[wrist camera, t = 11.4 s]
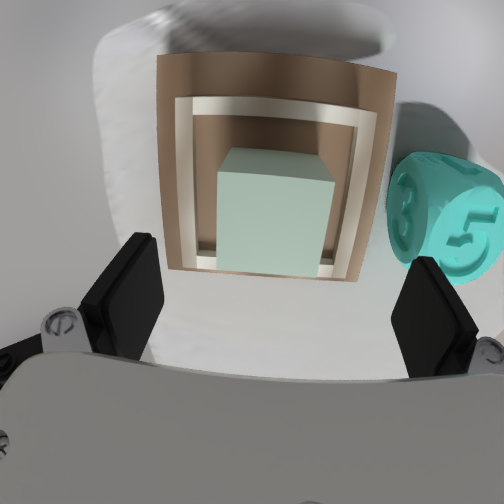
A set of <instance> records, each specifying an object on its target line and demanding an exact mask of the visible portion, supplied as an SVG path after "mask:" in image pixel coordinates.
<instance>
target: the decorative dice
mask: <svg viewBox="0 0 504 504" xmlns="http://www.w3.org/2000/svg"><path fill="white" fill-rule="evenodd" d="M387 226H388V234H389V239H390V243H391V246H392V249H393V252H394V254H395V256H396V257H397V259H398V260H399V261H400V262H401V263H402V264H403V266H405V267H406V268H407V269H408V270H409V268H410V265H411V262H412V261H413V259H416V258H417V257H418V256H429V257H433V258H434V259H435V261H436V262H437V264H438V265H439V267H440V268H441V270H442V271H443V273H444V274H445V276H446V277H447V279H448V280H449V282H450V283H451V285H459V284H463V283H467V282H470V281H472V280H474V279H476V278H478V277H479V276H481V275H482V274H483V273H485V272H486V271H487V270H488V269H489V268H490V267H491V266H492V265H493V264H494V263H495V261H496V260H497V259H498V257H499V256H500V254H501V252H502V250H503V248H504V185H503V183H502V181H501V179H500V178H499V177H498V176H497V175H496V174H494V173H493V172H491V171H490V170H488V169H486V168H484V167H482V166H480V165H477V164H475V163H472V162H470V161H467V160H464V159H461V158H457V157H454V156H450V155H445V154H440V153H434V152H422V151H420V152H413V153H411V154H410V155H408V156H407V157H406V158H405V159H403V160H402V161H401V162H400V164H399V165H398V166H397V167H396V169H395V171H394V173H393V175H392V178H391V181H390V185H389V190H388V198H387Z"/></svg>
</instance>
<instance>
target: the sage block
mask: <svg viewBox="0 0 504 504" xmlns="http://www.w3.org/2000/svg"><path fill="white" fill-rule="evenodd" d="M334 187H335V181H334V179H333V178H332V176H331V174H330V173H329V171H328V170H327V168H326V166H325V165H324V163H323V161H322V160H321V158H320V157H319V155H313V154H305V153H296V152H286V151H276V150H264V149H251V148H236V147H232V148H231V149H230V151H229V153H228V154H227V156H226V158H225V160H224V161H223V163H222V165H221V166H220V168H219V170H218V175H217V237H216V270H227V271H238V272H250V273H262V274H274V275H286V276H299V277H312V278H317V273H318V269H319V264H320V259H321V255H322V250H323V245H324V240H325V235H326V230H327V225H328V220H329V215H330V209H331V204H332V198H333V193H334Z"/></svg>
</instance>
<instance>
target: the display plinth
mask: <svg viewBox="0 0 504 504" xmlns="http://www.w3.org/2000/svg"><path fill="white" fill-rule="evenodd" d="M396 79H397V73H395V72H391V71H387V70H383V69H378V68H374V67H369V66H365V65H359V64H354V63H349V62H343V61H337V60H331V59H324V58H317V57H309V56H301V55H290V54H278V53H263V52H193V53H177V54H165V55H157V141H158V163H159V179H160V194H161V206H162V217H163V228H164V238H165V247H166V256H167V264H168V269H174V270H185V271H198V272H210V273H223V274H236V275H250V276H264V277H279V278H295V279H311V280H328V281H347V282H357V280H358V276H359V273H360V269H361V266H362V262H363V258H364V255H365V251H366V247H367V243H368V239H369V235H370V231H371V227H372V223H373V219H374V214H375V210H376V205H377V201H378V196H379V191H380V186H381V181H382V176H383V171H384V165H385V160H386V154H387V148H388V142H389V135H390V129H391V122H392V114H393V106H394V98H395V89H396ZM232 147H236V148H251V149H264V150H276V151H286V152H296V153H305V154H313V155H319V157H320V158H321V160H322V161H323V163H324V165H325V166H326V168H327V170H328V171H329V173H330V174H331V176H332V178H333V179H334V181H335V187H334V193H333V198H332V204H331V209H330V215H329V220H328V225H327V230H326V235H325V240H324V245H323V250H322V255H321V259H320V264H319V269H318V273H317V278H312V277H299V276H286V275H274V274H262V273H250V272H238V271H227V270H216V237H217V175H218V170H219V168H220V166H221V165H222V163H223V161H224V160H225V158H226V156H227V154H228V153H229V151H230V149H231V148H232Z"/></svg>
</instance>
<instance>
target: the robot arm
mask: <svg viewBox="0 0 504 504" xmlns="http://www.w3.org/2000/svg"><path fill="white" fill-rule="evenodd" d="M163 305H164V291H163V285H162V278H161V272H160V264H159V257H158V249H157V242H156V238H154V237H152V236H151V234H150V233H140V232H135V233H134V234H133V235H132V236H131V237H130V238H129V240H128V241H127V242H126V243H125V245H124V246H123V247H122V248H121V250H120V251H119V252H118V253H117V255H116V256H115V257H114V258H113V260H112V261H111V262H110V264H109V265H108V266H107V267H106V269H105V270H104V271H103V272H102V274H101V275H100V276H99V278H98V279H97V280H96V282H95V283H94V285H93V286H92V287H91V288H90V290H89V291H88V293H87V294H86V296H85V297H84V298H83V300H82V301H81V305H80V306H79V307H78V309H77V310H76V309H75V308H72V307H62V308H58V309H55V310H53V311H52V312H50V313H49V314H47V315H46V317H45V318H44V319H43V321H42V323H41V329H40V330H41V333H40V334H37V335H35V336H32V337H30V338H27V339H25V340H22V341H20V342H17V343H15V344H12V345H10V346H7V347H5V348H3V349H0V504H504V347H503V345H502V344H500V342H498V341H497V340H495V339H493V338H491V337H486V336H485V337H481V338H480V339H478V340H477V338H476V335H477V333H478V332H479V330H478V328H477V326H476V324H475V322H474V321H473V319H472V317H471V316H470V314H469V312H468V310H467V309H466V307H465V305H464V304H463V302H462V301H461V299H460V297H459V296H458V294H457V292H456V291H455V289H454V288H453V286H452V285H451V283H450V282H449V280H448V279H447V277H446V276H445V274H444V273H443V271H442V270H441V268H440V267H439V265H438V264H437V262H436V261H435V259H434V258H433V257H429V256H418V257H417V258H416V259H413V261H412V262H411V265H410V268H409V271H408V274H407V276H406V279H405V282H404V284H403V287H402V290H401V292H400V295H399V297H398V300H397V302H396V305H395V307H394V310H393V312H392V315H391V323H392V326H393V329H394V332H395V335H396V338H397V341H398V344H399V347H400V350H401V353H402V356H403V359H404V362H405V365H406V369H407V372H408V375H409V378H405V379H384V380H308V379H286V378H270V377H257V376H245V375H235V374H225V373H217V372H208V371H201V370H193V369H187V368H180V367H174V366H167V365H161V364H155V363H148V362H143V361H139V360H140V357H141V355H142V353H143V351H144V348H145V346H146V344H147V341H148V339H149V337H150V334H151V332H152V330H153V327H154V325H155V323H156V321H157V318H158V316H159V314H160V312H161V309H162V307H163Z"/></svg>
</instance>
